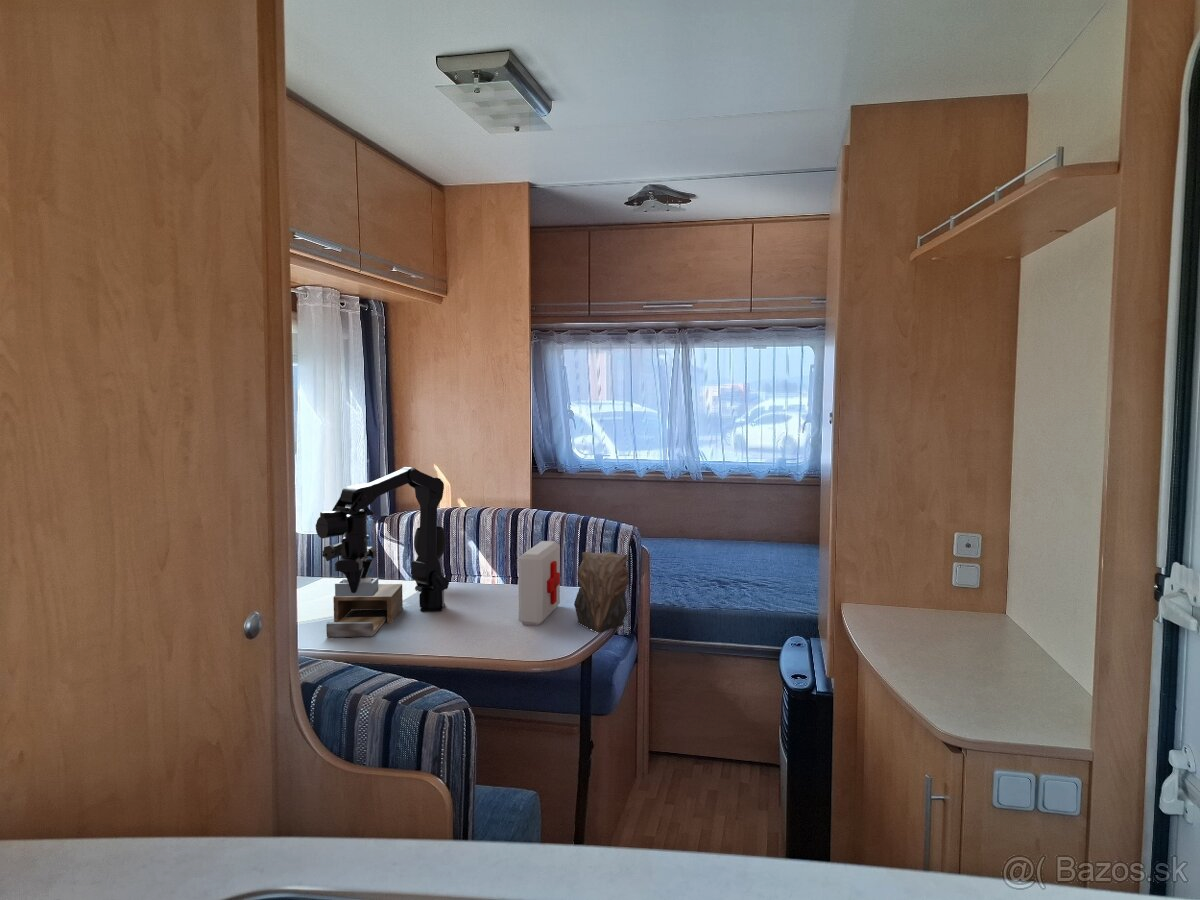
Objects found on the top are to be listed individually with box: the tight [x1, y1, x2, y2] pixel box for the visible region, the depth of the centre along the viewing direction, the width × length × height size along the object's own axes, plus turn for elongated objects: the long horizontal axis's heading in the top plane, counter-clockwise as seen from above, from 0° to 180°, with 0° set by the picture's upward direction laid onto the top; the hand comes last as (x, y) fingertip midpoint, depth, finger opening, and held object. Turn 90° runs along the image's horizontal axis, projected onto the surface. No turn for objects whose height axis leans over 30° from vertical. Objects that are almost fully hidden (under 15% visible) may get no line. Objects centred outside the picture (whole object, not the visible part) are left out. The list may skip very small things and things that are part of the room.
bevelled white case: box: [517, 540, 561, 626], centre depth 219 cm, size 21×8×20 cm, turn 168°
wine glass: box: [413, 525, 447, 592], centre depth 249 cm, size 10×10×20 cm
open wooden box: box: [332, 583, 404, 624], centre depth 218 cm, size 16×14×8 cm
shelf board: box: [325, 616, 387, 638], centre depth 206 cm, size 12×14×4 cm
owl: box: [573, 551, 629, 634], centre depth 211 cm, size 13×13×20 cm
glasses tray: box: [334, 577, 379, 597], centre depth 205 cm, size 10×6×4 cm, turn 93°
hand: (357, 589), depth 205 cm, fingers closed on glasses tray, 6 cm apart
